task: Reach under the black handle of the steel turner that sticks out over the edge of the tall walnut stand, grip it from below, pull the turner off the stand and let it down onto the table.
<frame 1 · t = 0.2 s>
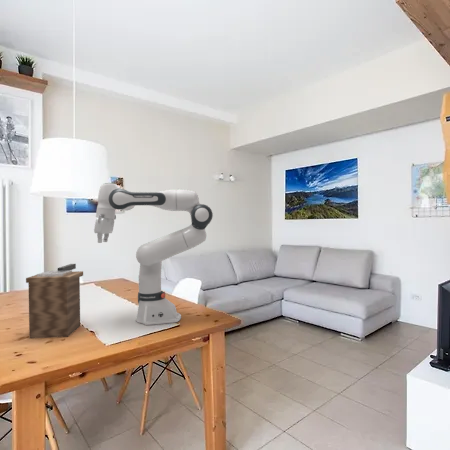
hand: (102, 242, 157), 40 cm above the table, tool pointing down, fingers open, 8 cm apart
turner: (55, 274, 142), point 26 cm above the table, touching stand
stand: (57, 331, 144), on the table
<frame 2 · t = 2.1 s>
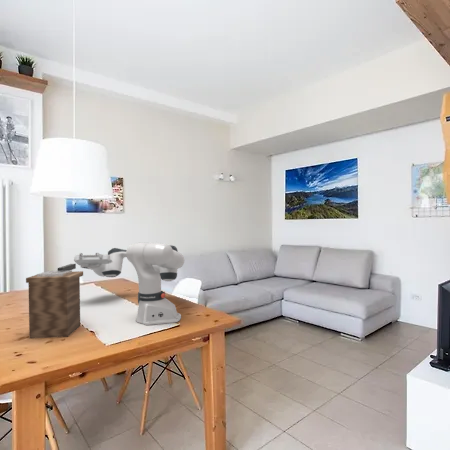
hand: (88, 254, 182), 31 cm above the table, tool pointing upward, fingers open, 8 cm apart
nothing on the table moved.
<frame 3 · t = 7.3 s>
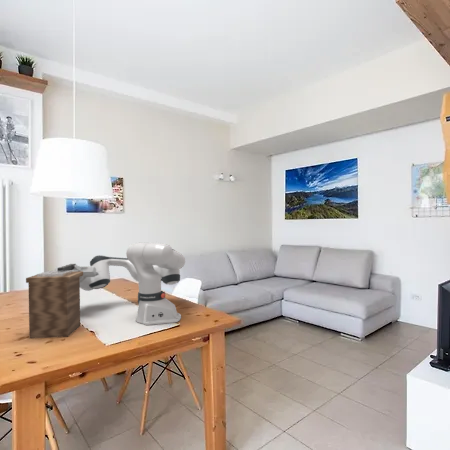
hand: (70, 266, 159), 28 cm above the table, tool pointing upward, fingers closed on turner, 2 cm apart
turner: (55, 274, 142), point 26 cm above the table, touching gripper, stand
everything else where it was.
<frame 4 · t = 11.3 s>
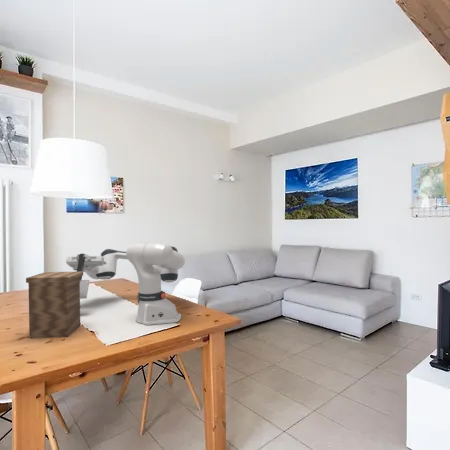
hand: (81, 255, 175), 31 cm above the table, tool pointing upward, fingers closed on turner, 2 cm apart
turner: (77, 289, 169), point 14 cm above the table, tilted 62°, touching gripper
everything else where it was.
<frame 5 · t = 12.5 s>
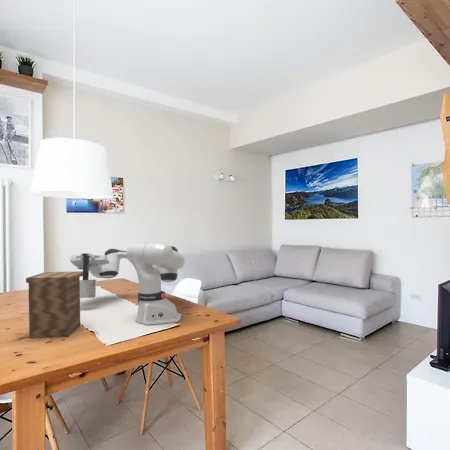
hand: (85, 254, 179), 32 cm above the table, tool pointing upward, fingers closed on turner, 2 cm apart
turner: (85, 288, 179), point 12 cm above the table, tilted 81°, touching gripper
everything else where it was.
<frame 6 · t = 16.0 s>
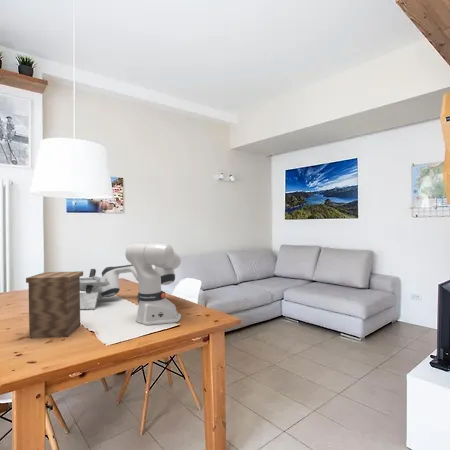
hand: (85, 277, 179), 18 cm above the table, tool pointing upward, fingers open, 8 cm apart
turner: (87, 301, 182), point 4 cm above the table, tilted 53°, touching arm
everything else where it was.
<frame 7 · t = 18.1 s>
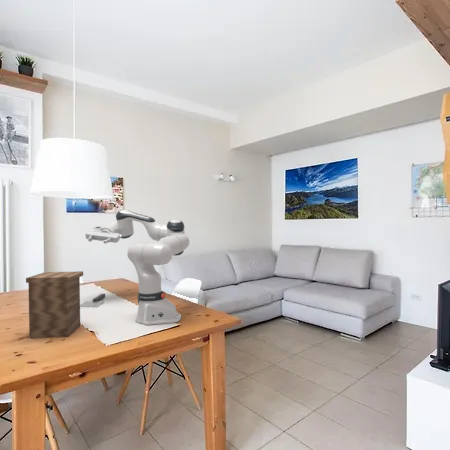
hand: (97, 241, 187), 39 cm above the table, tool tilted 70°, fingers open, 8 cm apart
turner: (91, 305, 188), on the table
everything else where it was.
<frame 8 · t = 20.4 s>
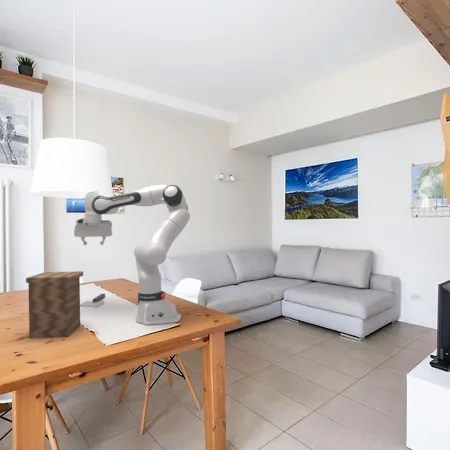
hand: (93, 244, 178), 37 cm above the table, tool pointing down, fingers open, 8 cm apart
nothing on the table moved.
at the end: turner touching table; turner inside the target area (14.6 cm from its centre), on the table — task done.
